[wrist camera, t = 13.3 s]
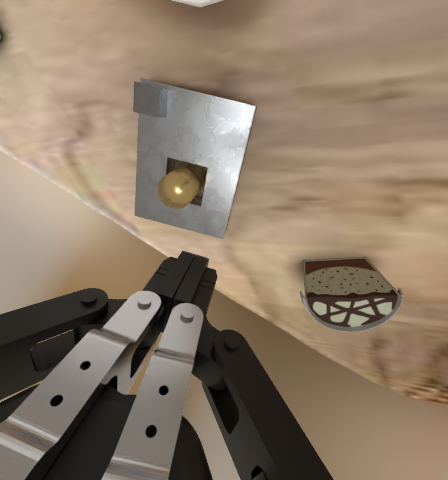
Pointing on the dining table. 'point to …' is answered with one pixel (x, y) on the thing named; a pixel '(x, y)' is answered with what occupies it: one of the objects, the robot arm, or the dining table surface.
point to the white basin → (198, 2)
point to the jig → (189, 152)
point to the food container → (348, 294)
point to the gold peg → (181, 185)
